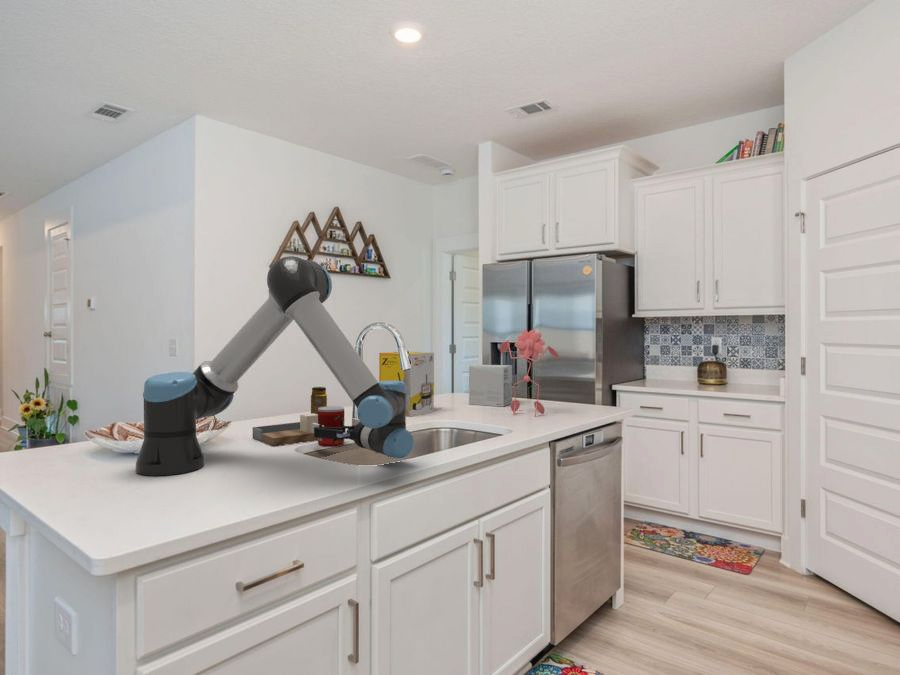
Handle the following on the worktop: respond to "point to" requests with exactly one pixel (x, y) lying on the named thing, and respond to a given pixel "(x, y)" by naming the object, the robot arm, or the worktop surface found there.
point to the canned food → (331, 423)
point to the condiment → (318, 399)
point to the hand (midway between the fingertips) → (333, 424)
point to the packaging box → (411, 379)
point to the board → (287, 437)
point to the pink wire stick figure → (528, 347)
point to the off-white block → (308, 421)
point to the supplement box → (490, 385)
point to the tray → (274, 429)
